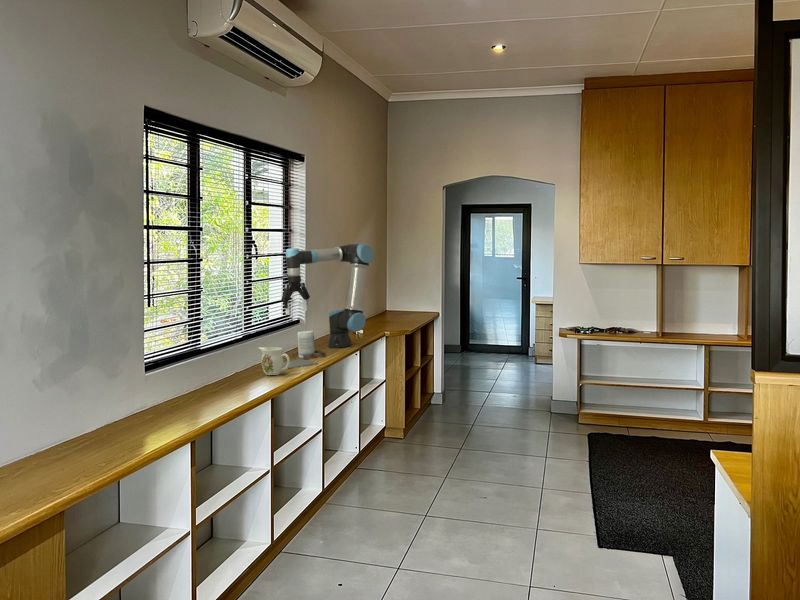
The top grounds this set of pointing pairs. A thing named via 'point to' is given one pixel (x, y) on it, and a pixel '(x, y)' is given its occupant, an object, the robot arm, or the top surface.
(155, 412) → the top surface
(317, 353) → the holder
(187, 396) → the top surface
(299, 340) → the supplement tub
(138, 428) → the top surface
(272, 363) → the pitcher
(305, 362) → the pad
